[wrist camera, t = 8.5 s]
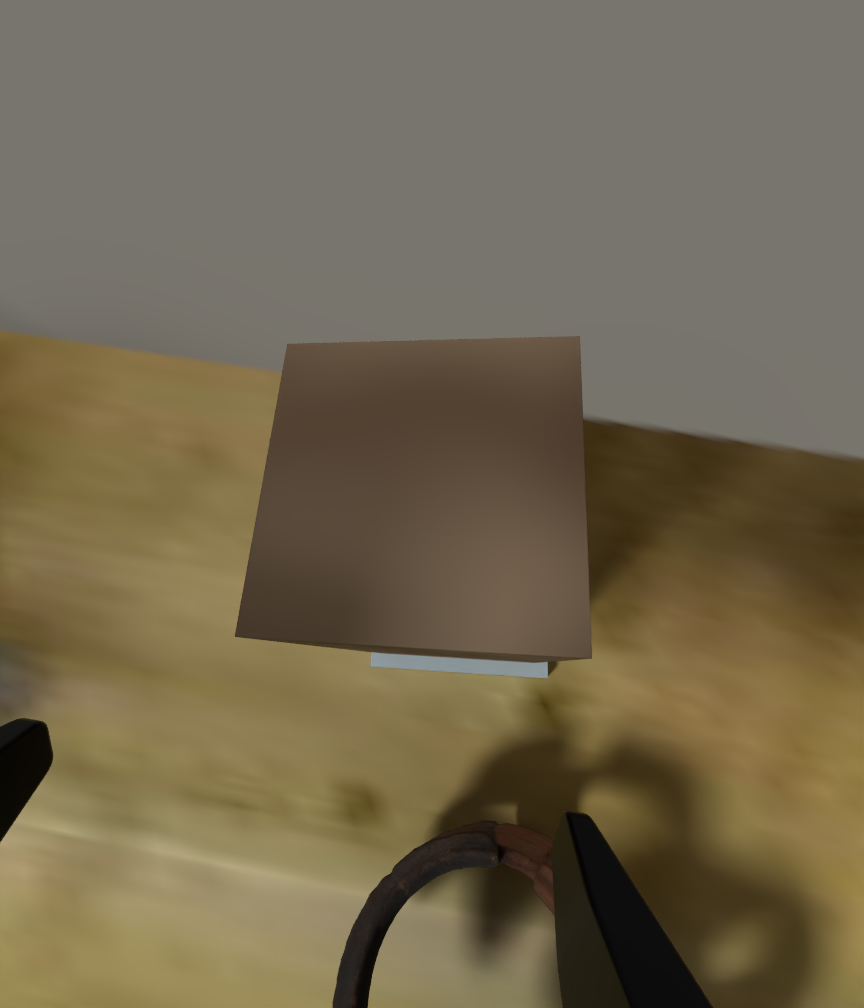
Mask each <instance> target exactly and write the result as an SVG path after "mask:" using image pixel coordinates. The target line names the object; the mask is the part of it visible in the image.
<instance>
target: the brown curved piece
mask: <svg viewBox="0 0 864 1008" xmlns="http://www.w3.org/2000/svg"><path fill="white" fill-rule="evenodd" d="M552 844H553V840H552V839H550V838H548V837H546V836H544V835H542V834H540V833H538V832H535V831H533V830H530V829H528V828H524V827H521V826H517V825H513V824H508V823H505V824H501V825H499V824H498V823H496V822H495V821H480V822H477V823H472V824H469V825H465V826H462V827H460V828H457V829H454V830H451V831H448V832H446V833H444V834H441V835H439V836H437V837H435V838H433V839H431V840H429V841H428V842H426V843H424V844H423V845H421V846H419V847H417V848H415V849H414V850H413V851H411V852H410V853H409V854H408V855H406V856H405V857H404V858H403V859H402V860H401V861H399V863H397V864H396V865H395V866H394V868H393V870H392V872H391V874H389V875H387V876H385V877H384V878H383V879H382V880H381V882H380V883H379V884H378V886H377V887H376V888H375V889H374V890H373V891H372V892H371V893H370V895H369V897H368V899H367V901H366V904H365V905H364V907H363V909H362V910H361V912H360V914H359V916H358V918H357V920H356V921H355V923H354V925H353V927H352V929H351V932H350V935H349V937H348V940H347V942H346V946H345V950H344V953H343V956H342V958H341V963H340V967H339V971H338V976H337V984H336V989H335V993H334V998H333V1008H368V997H369V990H370V985H371V978H372V974H373V969H374V965H375V962H376V958H377V955H378V952H379V949H380V946H381V944H382V942H383V939H384V937H385V935H386V932H387V930H388V928H389V926H390V925H391V923H392V922H393V920H394V918H395V916H396V914H397V913H398V912H399V910H400V909H401V908H402V906H403V905H404V904H405V903H406V901H407V900H408V899H409V898H410V897H411V896H412V895H413V894H414V893H416V892H417V891H418V890H419V889H421V888H422V887H423V886H424V885H426V884H427V883H428V882H430V881H431V880H433V879H434V878H436V877H438V876H439V875H441V874H444V873H446V872H449V871H452V870H456V869H463V868H466V867H485V868H496V867H498V864H499V863H500V862H502V863H504V864H506V865H508V866H510V867H512V868H514V869H517V870H519V871H521V872H522V873H524V874H526V875H527V876H528V877H530V878H531V879H532V880H533V881H534V889H535V892H536V893H537V895H538V896H539V897H540V898H541V899H542V901H543V902H544V903H545V905H546V906H547V907H548V908H549V909H550V911H551V912H552V913H553V914H554V916H555V911H554V893H553V874H552Z"/></svg>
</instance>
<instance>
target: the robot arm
mask: <svg viewBox="0 0 864 1008" xmlns="http://www.w3.org/2000/svg"><path fill="white" fill-rule="evenodd" d="M52 761H53V751H52V746H51V741H50V736H49V731H48V727H47V725H46V724H45V723H44V722H43V721H38V720H32V719H26V718H21V719H16V720H14V721H11V722H9V723H7V724H5V725H3V726H1V727H0V842H1V841H2V839H3V838H4V836H5V835H6V833H7V832H8V830H9V829H10V827H11V826H12V824H13V823H14V821H15V820H16V818H17V817H18V815H19V814H20V812H21V811H22V809H23V808H24V806H25V805H26V803H27V802H28V800H29V799H30V798H31V796H32V795H33V793H34V792H35V790H36V789H37V787H38V786H39V784H40V783H41V781H42V780H43V778H44V777H45V775H46V774H47V772H48V770H49V769H50V766H51V764H52ZM552 874H553V893H554V911H555V930H556V948H557V963H558V974H559V983H560V991H561V998H562V1005H563V1008H713V1006H712V1005H711V1003H710V1002H709V1000H708V999H707V997H706V996H705V994H704V992H703V991H702V989H701V988H700V986H699V985H698V983H697V982H696V980H695V978H694V977H693V975H692V974H691V972H690V971H689V969H688V968H687V966H686V964H685V963H684V961H683V960H682V958H681V957H680V955H679V954H678V952H677V950H676V949H675V947H674V946H673V944H672V943H671V941H670V940H669V938H668V936H667V935H666V933H665V932H664V930H663V929H662V927H661V926H660V924H659V922H658V921H657V919H656V918H655V916H654V915H653V913H652V912H651V910H650V908H649V907H648V905H647V904H646V902H645V901H644V899H643V898H642V896H641V894H640V893H639V891H638V890H637V888H636V887H635V885H634V884H633V882H632V880H631V879H630V877H629V876H628V874H627V873H626V871H625V870H624V868H623V866H622V865H621V863H620V862H619V860H618V859H617V857H616V855H615V854H614V852H613V851H612V849H611V848H610V846H609V845H608V843H607V841H606V840H605V838H604V837H603V835H602V834H601V832H600V831H599V829H598V827H597V826H596V824H595V823H594V821H593V820H592V818H591V817H590V816H588V815H587V814H585V813H580V812H574V811H565V812H563V814H562V816H561V819H560V822H559V825H558V828H557V831H556V834H555V837H554V840H553V844H552Z"/></svg>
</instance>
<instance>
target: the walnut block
mask: <svg viewBox="0 0 864 1008" xmlns="http://www.w3.org/2000/svg"><path fill="white" fill-rule="evenodd" d="M580 357H581V356H580V337H579V336H576V337H574V336H573V337H536V338H498V339H497V338H496V339H459V340H421V341H420V340H419V341H381V342H346V343H345V342H343V343H305V344H287V349H286V355H285V361H284V366H283V371H282V377H281V382H280V388H279V394H278V399H277V405H276V410H275V416H274V421H273V427H272V433H271V438H270V444H269V449H268V455H267V460H266V466H265V471H264V477H263V483H262V488H261V494H260V499H259V505H258V510H257V516H256V522H255V527H254V533H253V538H252V544H251V549H250V555H249V560H248V566H247V572H246V577H245V583H244V588H243V594H242V599H241V605H240V611H239V616H238V622H237V627H236V633H235V637H242V638H251V639H259V640H268V641H277V642H286V643H295V644H303V645H312V646H321V647H330V648H339V649H348V650H356V651H365V652H374V653H383V654H398V655H414V656H430V657H446V658H462V659H477V660H493V661H509V662H525V663H542V662H554V661H566V660H579V659H591V658H592V646H591V620H590V593H589V567H588V541H587V514H586V488H585V461H584V435H583V409H582V383H581V358H580Z"/></svg>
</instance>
